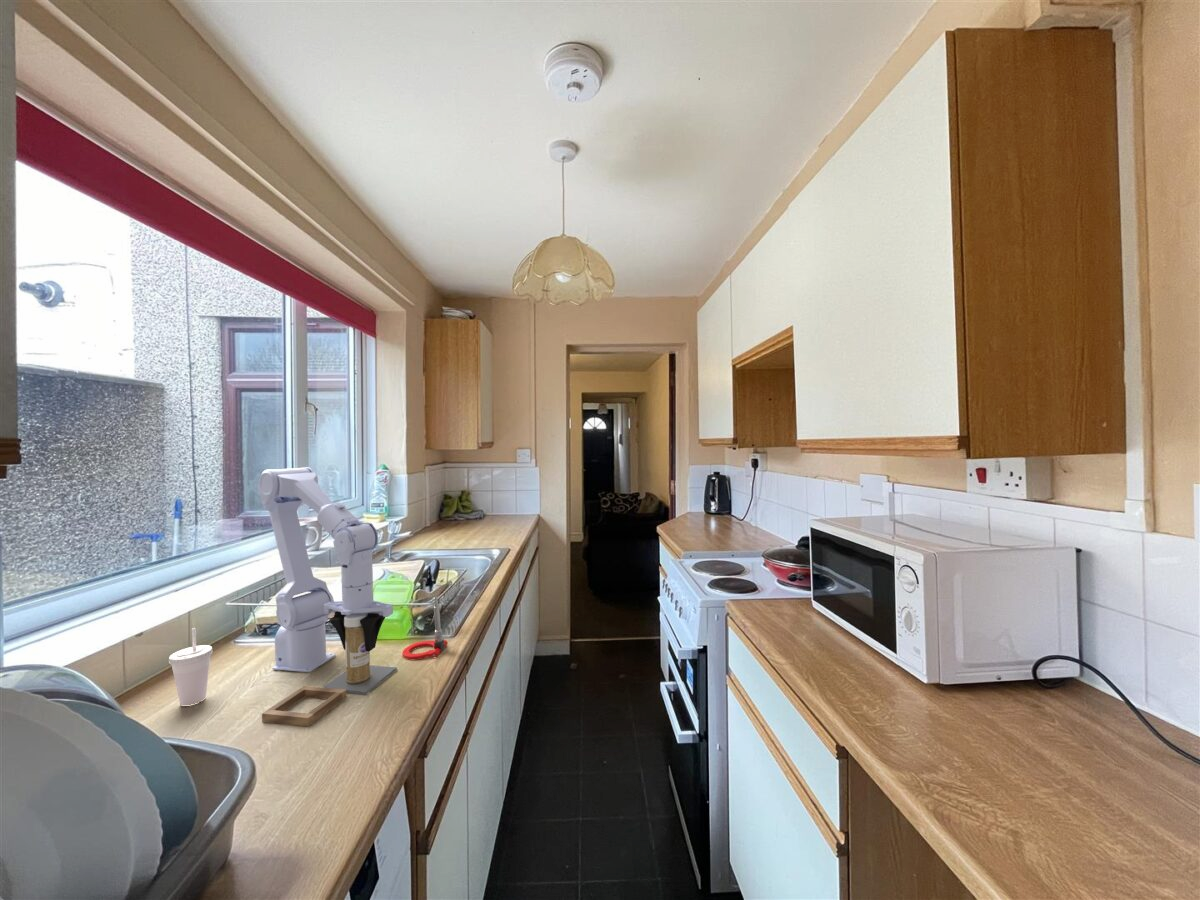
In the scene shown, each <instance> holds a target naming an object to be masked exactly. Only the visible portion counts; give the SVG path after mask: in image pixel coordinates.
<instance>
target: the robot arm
mask: <svg viewBox="0 0 1200 900" xmlns="http://www.w3.org/2000/svg"><path fill="white" fill-rule="evenodd" d="M318 478H319V477H318V474H317V473H316V472H315V471H314V469H312V468H311V467H310V466H309V467H308V466H304V467H298V468H295V467H294V468H282V469H281V468H280V469H269V468H268V469H265V470H264V471H262V473H261V474H260V477H259V479H258V482H257V490H258V494H259V497H260V502H261V505H262V508H263V510H266V511H268V513H269V514H268V515H269V519H270V522H271V526H272V530H273V534H274V538H275V542H276V545H277V550H278V554H279V557H280V558H279V559H280V562H281V567H282V570H283V575H284V578H285V582H286V584H285V586H284V587H283V588H282V590H281V591H280V592H279V593H278V594H277V596H276V597H275V602H276V603H275V605H276V609H275V610H276V611H275V612H276V619H277V622H278V625H280V627H279V628H278V630H277V632H276V634H275V637H274V656H275V659H274V661H275V665H274V666H272V668H271V669H272V670H276V671H287V672H288V671H289V672H302V673H311V672H312V671H315V669H317V668H319V667H321V666H322V665H324V664H325V663H326V662H328V661H330V660H332V659H333V658H335V657H336V653H332V652H331V653H329V652H327V642H326V640H327V638H326V634H327V633H326V621H328V620H329V623H330V624H331V625H332V627H333V628H334V630H335V631H336V632H337V634H338V636H339V639H340V641H341V645H342V647H343V650H344V651H345V640H346V637H345V636H346V635H345V626H344V617H345V616H346V615H350V614H366V615H367V617H365V618H363V619H361V620H360V623H361V625H362V628H363V631H364V636H365V648H366V651H370V652H371V651H372V650H374V649H375V648H376V647H377V640H378V637H379V632H380V630H381V627H382V625H383V623H384V621H385V619H386V618H388V617H390V616H392V615H393V614H394V605H393V604H392V603H391V604H389V603H385V602H382V601H381V602H380V601H378V600H377V601H376V600H374V576H373V572H374V571H373V570H374V569H373V549H375V548H376V547H377V545H378V543H379V534H378V531H377V528H376V527H375V526H374V524H373V523H372V522H369V521H367V522H364V521H363V520H361V521H360V520H359V519H358V518H357V517H356V516H355V515H354V514H353V513H352V512H351V511H350V510H348V508H347V507H346V506H345V505H344V503H341V502H333V501H332V500H331V498H329V496H328V495H327V494H326V492H325V491H324V490H323V489H322V488H321V487H320V485H319V479H318ZM305 504H306V505H307V506H308V507H309V508H310V509H312V510H313V511H314V512H315V513H316V514H317V523H318V524H319V526H321V527H322V528H323V529H324V530H325V532H327V534H328V535H330V537H332V539H333V542H332V543H333V547H334V550H335V553H337V561H338V564H340V567H341V568H340V569H341V598H342V599H341V600H340V601H339V600H338V601H334V596H333V594H332V593H331V592H330V590H329V588H328V586H327V583H326V581H323V580H321V578H320V579H319V578H317V577H315V576H314V574H313V570H312V566H311V562H310V559H309V553H308V550H307V547H306V543H305V539H304V534H303V532H302V531H303V530H302V527H301V523H300V519H299V516H298V511H299V508H300V507H301V506H304V505H305ZM300 594H301V595H300ZM294 596H295V597H294ZM331 614H334V615H333V616H331V618H330V619H329V615H331Z"/></svg>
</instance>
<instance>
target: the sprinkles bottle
mask: <svg viewBox="0 0 1200 900" xmlns="http://www.w3.org/2000/svg"><path fill="white" fill-rule="evenodd" d="M365 617H367V615H366V614H350V615H346V616H345V617H344V626H345V635H346V636H345V637H346V640H345V650H344V651H345V666H346V670H347V678H346V681H347V682H348V683H351V684H356V683H361V682H363V681H365V680H367V679H369V677H370V675H371V674H370V665H371V664H370V662H371V661H370V660H371V653H370V652H371V651H366V648H365V636H364V631H363V628H362V625H361V623H360V620H361V619H363V618H365Z"/></svg>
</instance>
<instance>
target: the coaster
mask: <svg viewBox="0 0 1200 900" xmlns="http://www.w3.org/2000/svg"><path fill="white" fill-rule="evenodd" d="M397 670H398V668H397V667H396V666H386V665H385V666H383V665H371V664H370V674H371V675H370V677H369V679H367V680H365V681H363V682H361V683H356V684H351V683H348V682H347V681H346V678H347V669H346V670H345V671H343V672H342V673H340V674H339V675H338V676H336V677H335V678H334V679H332V680H330V681H329V682H328V683H326V684H325V685H323V686H322V688H334V689H346V694H350V695H352V694H353V695H364V696H367V695H368V694H369V693H371V692H372V691H373V690H374V689H376V688H377V687H378V686H379V685H380V684H382V683H383V682H384V681H386V679H388V678H389V677H390V676H391V675H393V674H394V673H395V672H396V671H397Z"/></svg>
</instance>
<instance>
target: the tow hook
mask: <svg viewBox="0 0 1200 900" xmlns="http://www.w3.org/2000/svg"><path fill="white" fill-rule="evenodd" d="M438 601H439V600H438V596H434V597H433V603H434V604H433V605H434V606H433V613H434V614H433V615H434V627H435V629H434V640H424V641H419V642H415V643H412V644H410V645H408V646H406V647H405V648H404V649H403V650H402V652H401V653H402V654H401V655H402V658H404V659H405V660H411V659H414V660H420V659H425V658H432V657H436V658H437V657H438V656H439V655H441V653H442V652H443V651H444V650H445V648H446V646H448V640H445V639H444V638H443V630H442V628H441V626H442V625H441V614H440V605H439V602H438ZM423 646H424V647H432V648H433V649H429V650H427V651H424V652H419V653H412V651H414V650H416V649H418V647H419V648H424V647H423ZM415 648H416V649H415ZM413 649H414V650H413Z"/></svg>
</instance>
